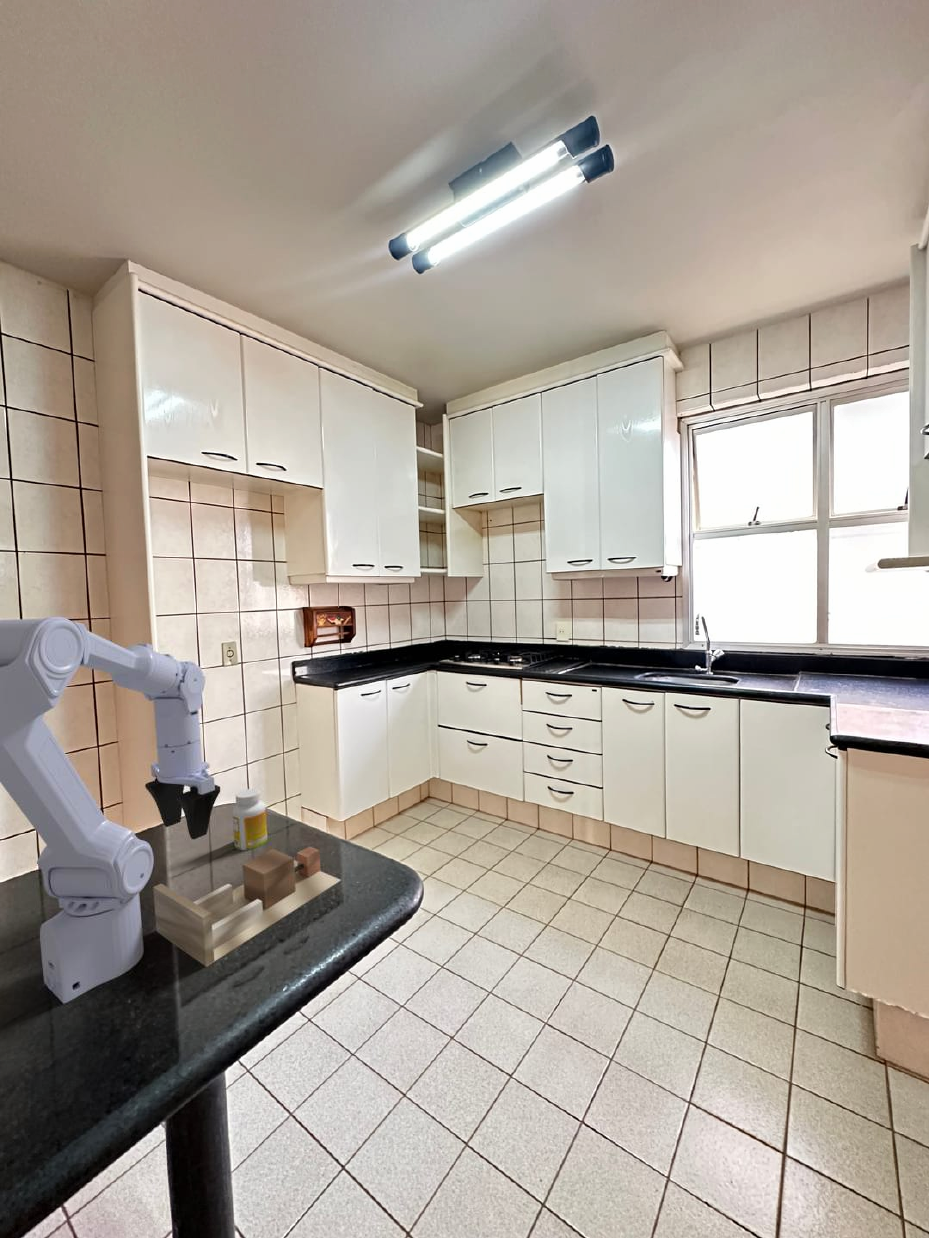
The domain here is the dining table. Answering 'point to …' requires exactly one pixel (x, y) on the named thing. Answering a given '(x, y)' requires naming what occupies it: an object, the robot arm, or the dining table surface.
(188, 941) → the shelf lane
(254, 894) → the walnut block
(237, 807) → the supplement bottle
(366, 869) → the dining table surface
